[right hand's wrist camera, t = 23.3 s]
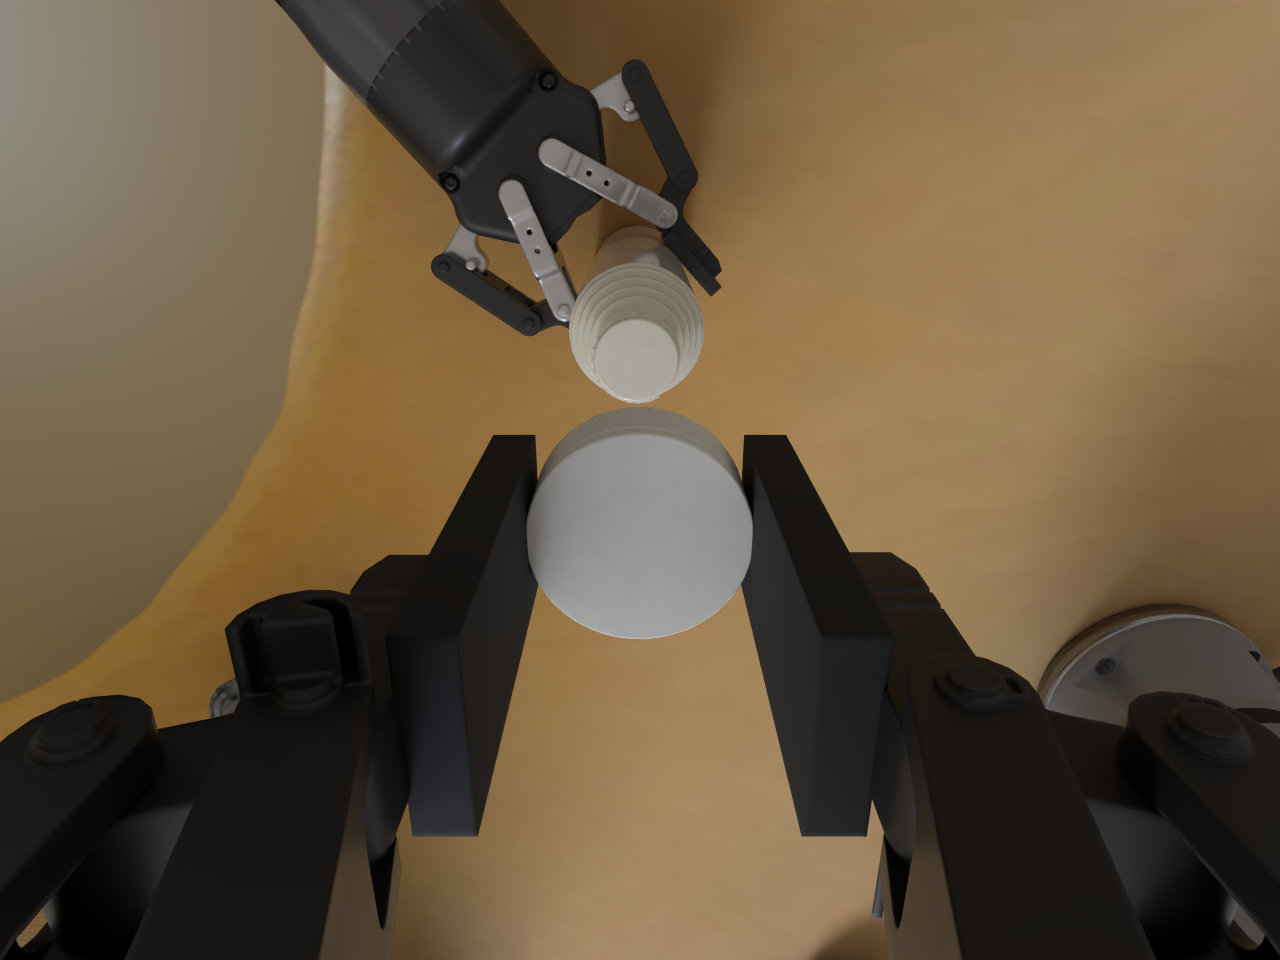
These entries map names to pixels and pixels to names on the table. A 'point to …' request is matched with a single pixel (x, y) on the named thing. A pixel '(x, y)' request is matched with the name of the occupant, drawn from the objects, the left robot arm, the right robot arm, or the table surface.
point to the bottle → (636, 318)
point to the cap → (639, 524)
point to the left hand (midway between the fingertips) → (672, 325)
